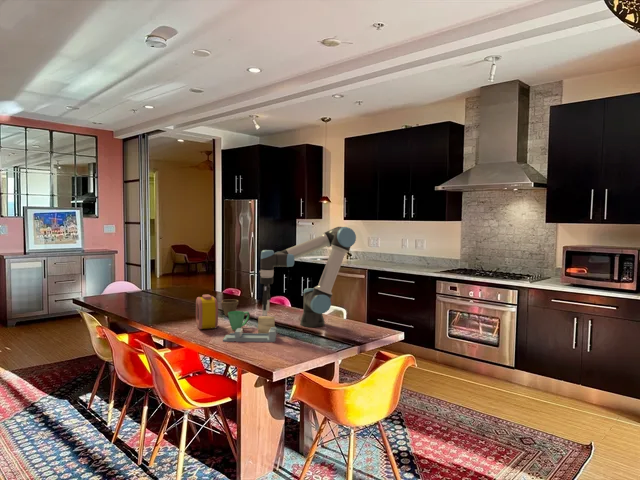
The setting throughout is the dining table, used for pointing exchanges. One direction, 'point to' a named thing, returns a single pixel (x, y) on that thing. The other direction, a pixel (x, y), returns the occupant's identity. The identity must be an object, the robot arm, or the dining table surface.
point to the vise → (253, 337)
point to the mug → (237, 319)
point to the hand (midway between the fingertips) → (265, 313)
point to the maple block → (265, 324)
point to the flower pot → (229, 305)
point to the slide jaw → (238, 332)
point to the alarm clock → (206, 312)
